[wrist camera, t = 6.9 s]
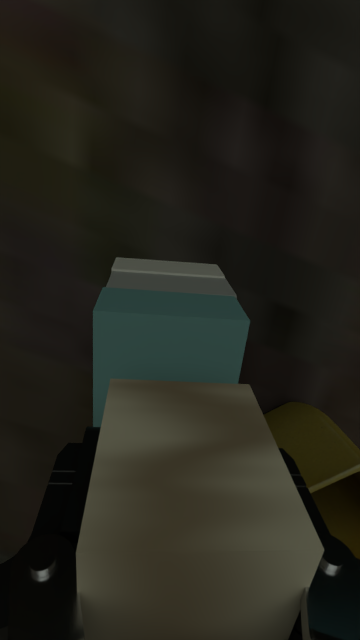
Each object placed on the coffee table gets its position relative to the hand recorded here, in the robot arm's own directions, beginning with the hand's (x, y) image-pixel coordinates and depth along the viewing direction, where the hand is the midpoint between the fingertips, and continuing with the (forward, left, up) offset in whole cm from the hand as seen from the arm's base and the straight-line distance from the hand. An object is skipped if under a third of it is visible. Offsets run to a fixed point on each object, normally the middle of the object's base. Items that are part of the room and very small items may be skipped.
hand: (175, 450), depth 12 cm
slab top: (0, 0, -7) cm, 7 cm away
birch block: (0, 0, -1) cm, 1 cm away
